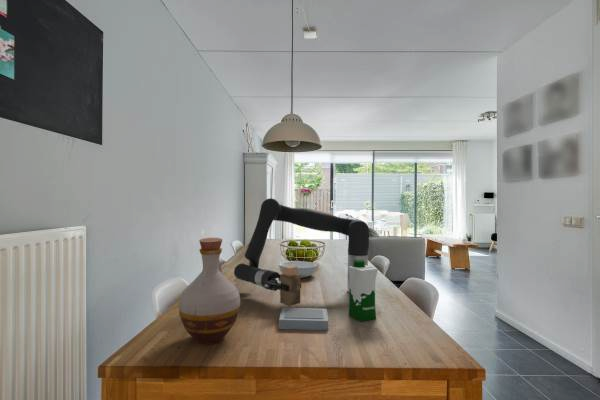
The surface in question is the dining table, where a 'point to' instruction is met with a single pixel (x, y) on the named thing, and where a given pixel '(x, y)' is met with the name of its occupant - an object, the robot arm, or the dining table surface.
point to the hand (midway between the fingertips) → (294, 287)
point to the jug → (209, 298)
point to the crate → (290, 290)
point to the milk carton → (362, 291)
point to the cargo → (290, 270)
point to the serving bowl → (301, 267)
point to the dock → (303, 319)
